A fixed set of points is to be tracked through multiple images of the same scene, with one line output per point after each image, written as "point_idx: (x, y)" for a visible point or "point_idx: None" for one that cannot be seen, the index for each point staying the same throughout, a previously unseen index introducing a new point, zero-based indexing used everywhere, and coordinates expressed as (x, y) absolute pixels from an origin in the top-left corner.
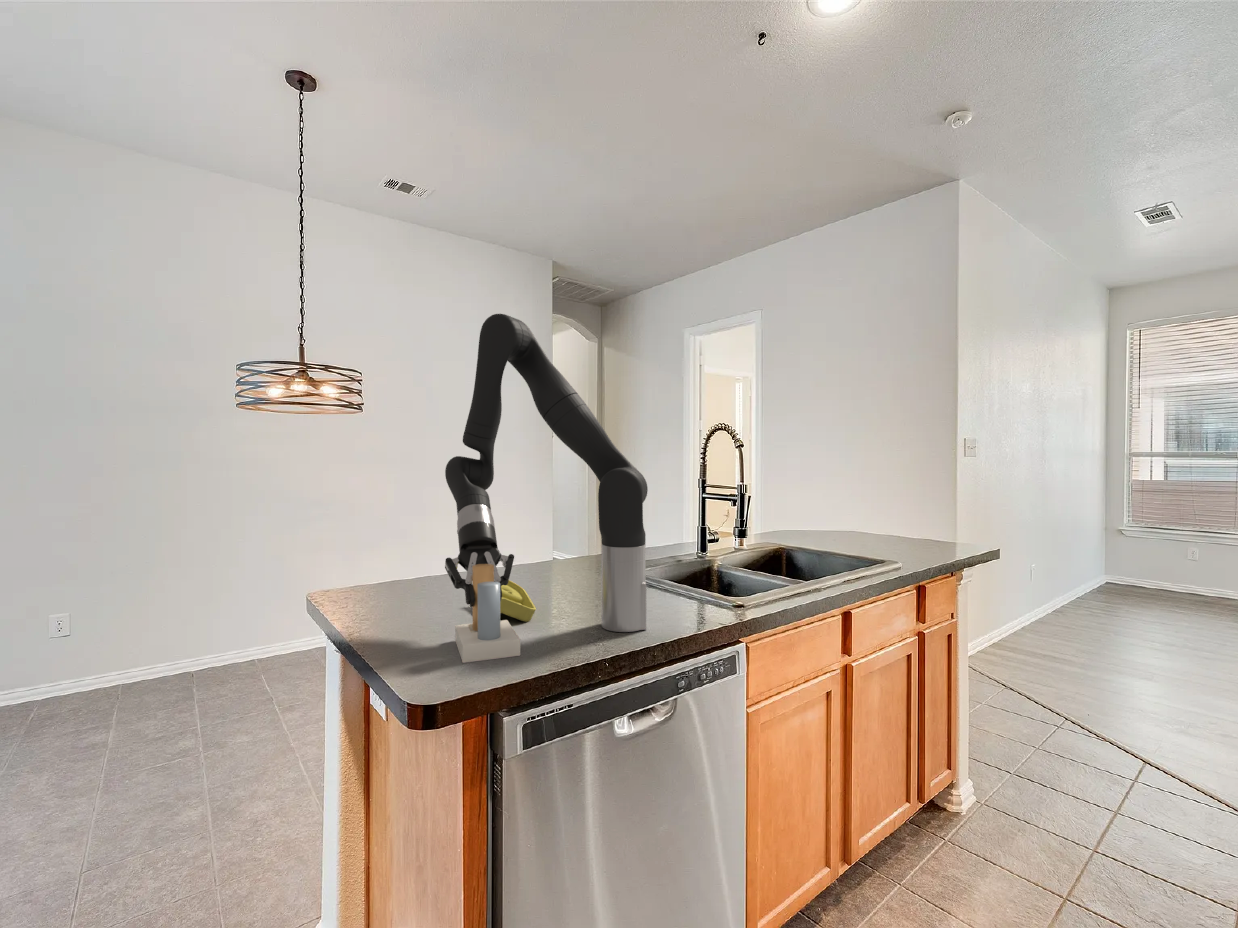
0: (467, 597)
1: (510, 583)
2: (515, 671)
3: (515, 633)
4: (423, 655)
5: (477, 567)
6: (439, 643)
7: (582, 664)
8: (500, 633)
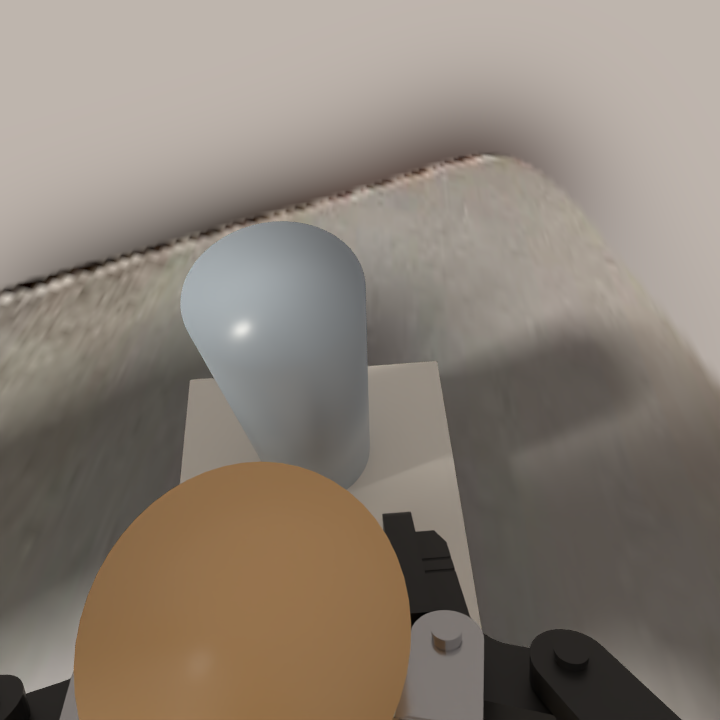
0: (439, 546)
1: None
2: None
3: (186, 461)
4: (606, 528)
5: (343, 503)
6: None
7: (49, 281)
8: None
